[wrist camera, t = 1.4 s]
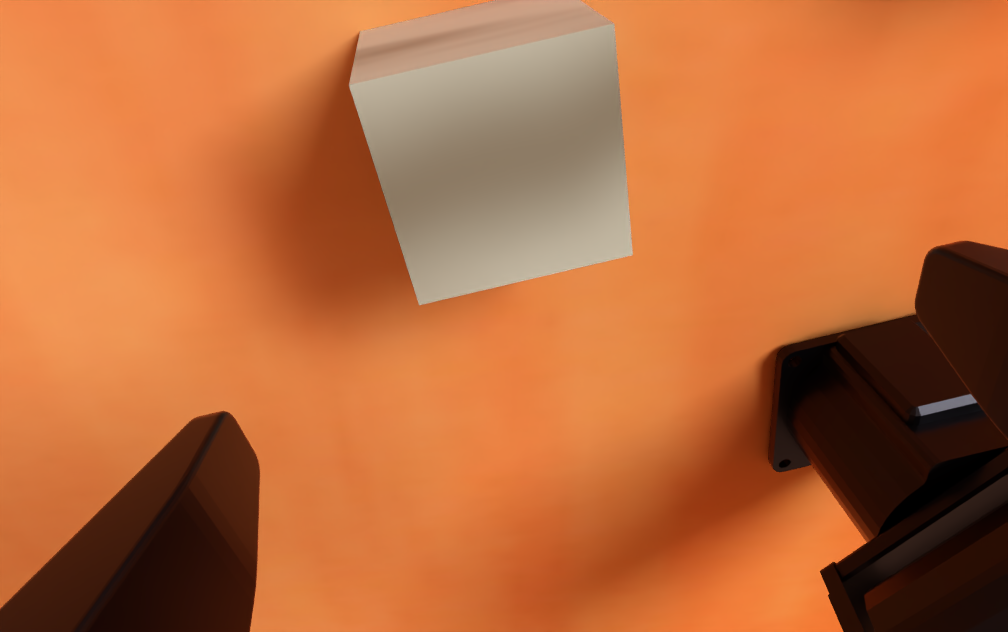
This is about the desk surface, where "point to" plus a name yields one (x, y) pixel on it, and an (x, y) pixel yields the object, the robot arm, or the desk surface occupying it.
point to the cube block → (496, 141)
